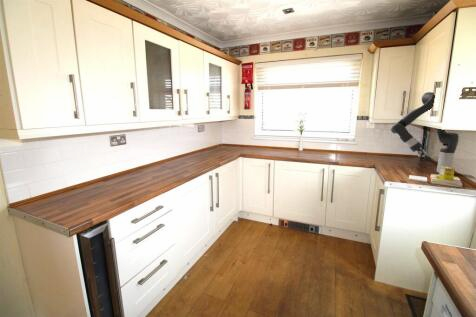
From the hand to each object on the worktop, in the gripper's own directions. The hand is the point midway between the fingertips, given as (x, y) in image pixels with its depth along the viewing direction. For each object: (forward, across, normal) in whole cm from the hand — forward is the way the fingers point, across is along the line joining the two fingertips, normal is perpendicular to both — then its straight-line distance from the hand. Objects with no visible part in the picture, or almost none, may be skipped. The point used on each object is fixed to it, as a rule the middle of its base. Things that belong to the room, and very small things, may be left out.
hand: (430, 160), depth 175 cm
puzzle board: (+18, 0, +3) cm, 18 cm away
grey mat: (+6, -3, +14) cm, 16 cm away
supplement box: (+18, 0, +3) cm, 18 cm away
